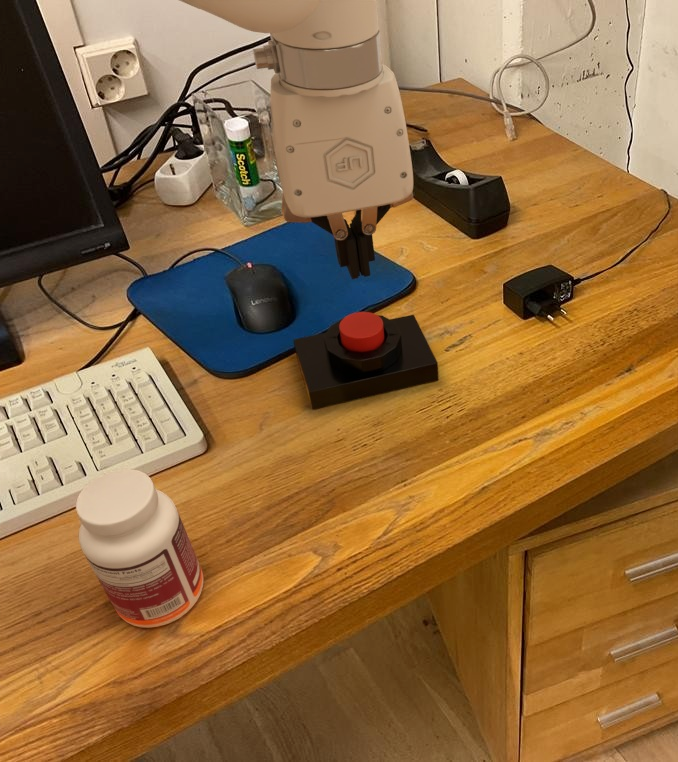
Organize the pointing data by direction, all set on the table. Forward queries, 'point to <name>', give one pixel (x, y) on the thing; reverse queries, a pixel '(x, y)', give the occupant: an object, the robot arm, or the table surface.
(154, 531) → the pill bottle
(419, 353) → the button box
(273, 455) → the table surface
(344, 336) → the button
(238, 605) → the table surface
